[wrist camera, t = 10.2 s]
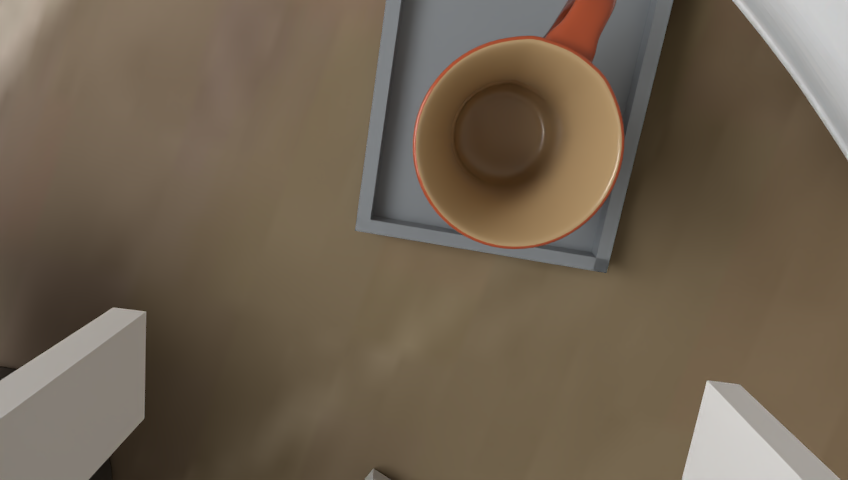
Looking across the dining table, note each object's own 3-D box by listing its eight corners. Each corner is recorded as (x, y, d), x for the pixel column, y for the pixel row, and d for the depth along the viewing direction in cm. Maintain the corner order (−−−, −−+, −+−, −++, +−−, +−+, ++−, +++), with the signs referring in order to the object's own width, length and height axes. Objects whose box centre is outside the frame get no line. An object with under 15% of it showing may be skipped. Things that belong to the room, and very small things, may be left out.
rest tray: (359, 224, 37) (355, 230, 35) (400, -73, 33) (397, -83, 31) (599, 264, 37) (606, 273, 35) (670, -30, 33) (682, -37, 31)
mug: (527, 232, 36) (553, 284, 26) (399, 162, 35) (376, 188, 25) (638, 48, 33) (715, 28, 23) (501, -31, 33) (520, -87, 23)
